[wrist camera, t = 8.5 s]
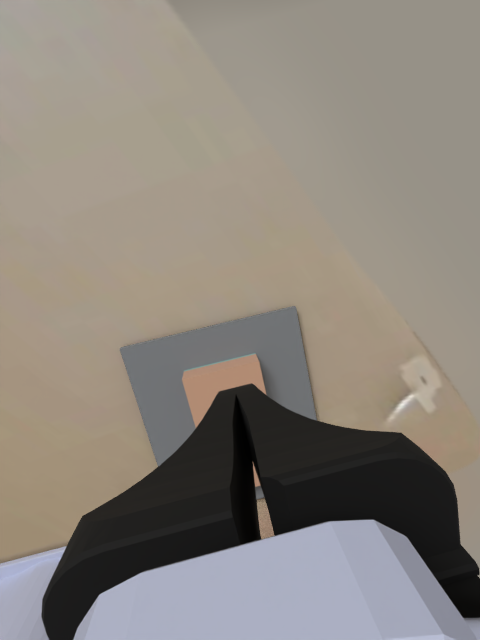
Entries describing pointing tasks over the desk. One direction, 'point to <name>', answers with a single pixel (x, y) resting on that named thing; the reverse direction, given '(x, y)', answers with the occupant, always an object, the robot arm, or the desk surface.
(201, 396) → the tan wooden block
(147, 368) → the mat
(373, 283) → the desk surface
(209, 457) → the robot arm
